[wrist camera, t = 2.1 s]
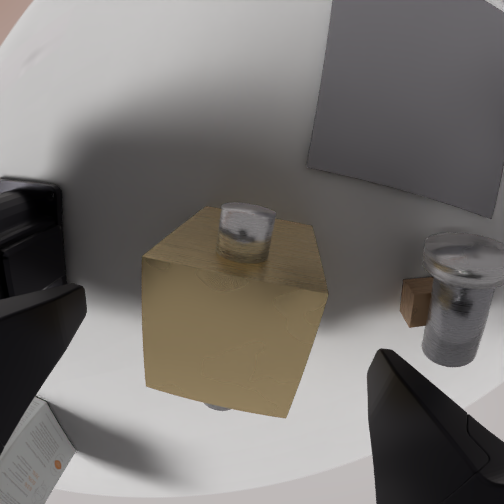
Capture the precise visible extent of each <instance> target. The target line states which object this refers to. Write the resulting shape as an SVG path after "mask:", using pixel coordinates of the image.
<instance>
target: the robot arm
mask: <svg viewBox="0 0 504 504" xmlns="http://www.w3.org/2000/svg"><path fill="white" fill-rule="evenodd" d="M52 192H53V194H54V198H53V197H52ZM86 313H87V305H86V296H85V289H84V287H83V286H81V285H77V284H74V283H71V284H67V281H66V271H65V260H64V246H63V226H62V191H61V189H60V187H59V186H58V185H55V184H46V183H38V182H29V181H19V180H9V179H0V455H1V453H2V452H3V450H4V447H5V446H6V444H7V442H8V440H9V439H10V437H11V435H12V433H13V432H14V430H15V428H16V427H17V425H18V423H19V422H20V420H21V418H22V417H23V415H24V413H25V412H26V410H27V408H28V407H29V405H30V404H31V402H32V400H33V399H34V397H35V396H36V394H37V392H38V391H39V389H40V388H41V386H42V385H43V383H44V382H45V380H46V379H47V377H48V376H49V374H50V373H51V371H52V370H53V368H54V367H55V365H56V364H57V362H58V361H59V360H60V358H61V357H62V355H63V354H64V352H65V351H66V349H67V347H68V346H69V344H70V342H71V340H72V339H73V337H74V335H75V333H76V331H77V330H78V328H79V326H80V325H81V323H82V321H83V319H84V318H85V316H86ZM367 391H368V421H369V430H370V438H371V447H372V456H373V465H374V475H375V489H376V501H377V502H376V503H377V504H504V442H503V441H501V440H500V439H499V438H498V437H496V436H495V435H494V434H492V433H491V432H490V431H488V430H487V429H486V428H485V427H483V426H482V425H481V424H480V423H479V422H477V421H476V420H475V419H474V418H473V417H471V416H470V415H467V412H465V411H464V410H463V409H462V408H461V407H460V406H458V405H457V404H456V403H455V402H454V401H453V400H451V399H450V398H449V397H448V396H447V395H446V394H444V393H443V392H442V391H441V390H440V389H438V388H437V387H436V386H435V385H434V384H432V383H431V382H430V381H429V380H428V379H427V378H425V377H424V376H423V375H422V374H421V373H419V372H418V371H417V370H416V369H415V368H413V367H412V366H411V365H410V364H409V363H407V362H406V361H405V360H404V359H403V358H401V357H400V356H399V355H398V354H397V353H395V352H394V351H393V350H391V349H382V348H381V349H379V350H378V351H377V352H376V354H375V357H374V359H373V361H372V363H371V365H370V367H369V369H368V373H367Z"/></svg>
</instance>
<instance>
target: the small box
mask: <svg viewBox="0 0 504 504" xmlns="http://www.w3.org/2000/svg"><path fill="white" fill-rule="evenodd" d="M75 452H76V450H75V449H74V447H73V446H72V444H71V443H70V441H69V440H68V438H67V436H66V435H65V433H64V432H63V430H62V428H61V427H60V425H59V423H58V422H57V420H56V418H55V417H54V415H53V413H52V411H51V410H50V408H49V406H48V404H47V402H45V401H43V400H41V399H39V398H37V397H34V399H33V400H32V402H31V404H30V405H29V407H28V408H27V410H26V412H25V413H24V415H23V417H22V418H21V420H20V422H19V423H18V425H17V427H16V428H15V430H14V432H13V433H12V435H11V437H10V439H9V440H8V442H7V444H6V446H5V447H4V450H3V452H2V453H1V455H0V504H45V502H46V500H47V498H48V497H49V495H50V493H51V492H52V490H53V488H54V487H55V485H56V483H57V482H58V480H59V478H60V477H61V475H62V473H63V472H64V470H65V468H66V467H67V465H68V463H69V462H70V460H71V458H72V457H73V455H74V454H75Z"/></svg>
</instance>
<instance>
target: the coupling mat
mask: <svg viewBox="0 0 504 504" xmlns="http://www.w3.org/2000/svg"><path fill="white" fill-rule="evenodd" d="M503 165H504V12H502V11H501V10H499V9H498V8H496V7H495V6H493V5H491V4H490V3H488V2H487V1H485V0H333V2H332V10H331V17H330V25H329V32H328V39H327V46H326V53H325V60H324V66H323V73H322V79H321V85H320V91H319V98H318V104H317V110H316V115H315V121H314V127H313V133H312V138H311V144H310V149H309V155H308V160H307V166H306V167H308V168H313V169H318V170H323V171H327V172H332V173H336V174H341V175H345V176H349V177H353V178H357V179H362V180H366V181H370V182H374V183H377V184H381V185H385V186H389V187H392V188H396V189H400V190H403V191H407V192H410V193H414V194H417V195H420V196H424V197H427V198H430V199H434V200H437V201H440V202H443V203H446V204H449V205H452V206H455V207H458V208H461V209H464V210H467V211H470V212H473V213H476V214H479V215H481V216H484V217H487V218H490V219H492V215H493V211H494V207H495V203H496V199H497V195H498V190H499V185H500V181H501V176H502V170H503Z"/></svg>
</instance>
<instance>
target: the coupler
mask: <svg viewBox="0 0 504 504" xmlns="http://www.w3.org/2000/svg"><path fill="white" fill-rule="evenodd" d="M275 218H276V213H275V212H274V211H273V210H271V209H268V208H266V207H262V206H259V205H254V204H248V203H237V202H231V203H224V204H222V208H221V209H219V208H213V207H208V206H206V207H204V208H203V209H202V210H200V211H199V212H198V213H196V214H195V215H194V216H193V217H191V218H190V219H189V220H187V221H186V222H185V223H183V224H182V225H181V226H180V227H178V228H177V229H176V230H174V231H173V232H172V233H171V234H169V235H168V236H167V237H166V238H164V239H163V240H162V241H161V242H159V243H158V244H157V245H156V246H154V247H153V248H152V249H151V250H149V251H148V252H147V253H146V254H144V255H143V256H142V331H143V352H144V367H145V380H146V386H147V387H150V388H153V389H156V390H159V391H163V392H166V393H170V394H173V395H177V396H180V397H184V398H188V399H192V400H196V401H200V402H204V404H205V405H207V406H208V407H210V408H212V409H214V410H219V411H225V410H230V409H235V410H240V411H245V412H250V413H256V414H262V415H267V416H274V417H280V418H286V417H287V415H288V412H289V409H290V407H291V404H292V402H293V399H294V396H295V394H296V391H297V388H298V386H299V383H300V380H301V377H302V374H303V372H304V369H305V366H306V363H307V360H308V357H309V354H310V351H311V348H312V346H313V343H314V339H315V336H316V333H317V330H318V327H319V324H320V321H321V318H322V314H323V311H324V308H325V305H326V301H327V298H328V295H329V293H328V289H327V284H326V280H325V276H324V271H323V267H322V263H321V259H320V255H319V251H318V247H317V243H316V239H315V235H314V231H313V227H312V226H310V225H305V224H300V223H295V222H290V221H285V220H280V219H275Z"/></svg>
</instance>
